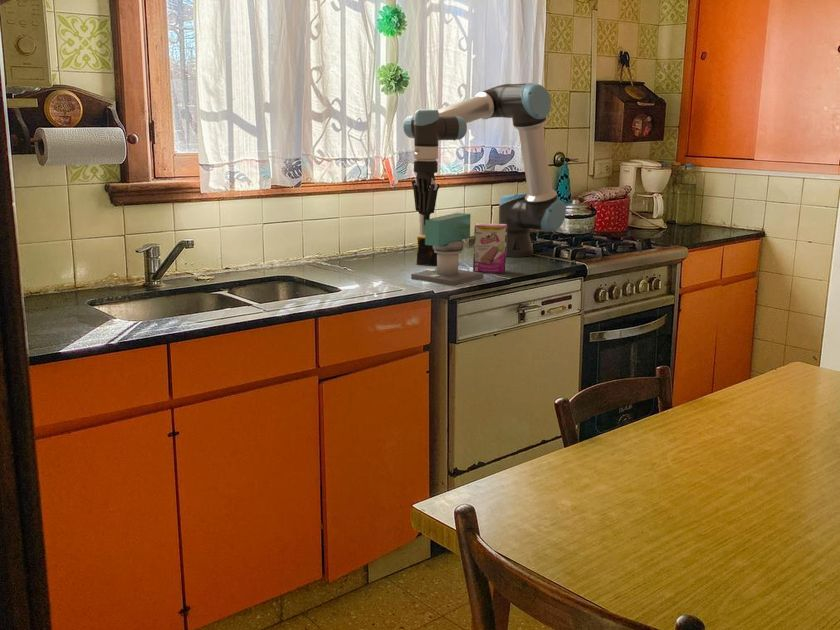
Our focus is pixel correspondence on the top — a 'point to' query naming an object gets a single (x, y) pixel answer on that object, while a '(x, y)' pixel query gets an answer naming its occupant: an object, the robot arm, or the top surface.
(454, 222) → the teal boxy piece
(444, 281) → the post base
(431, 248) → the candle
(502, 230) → the candy bar box
